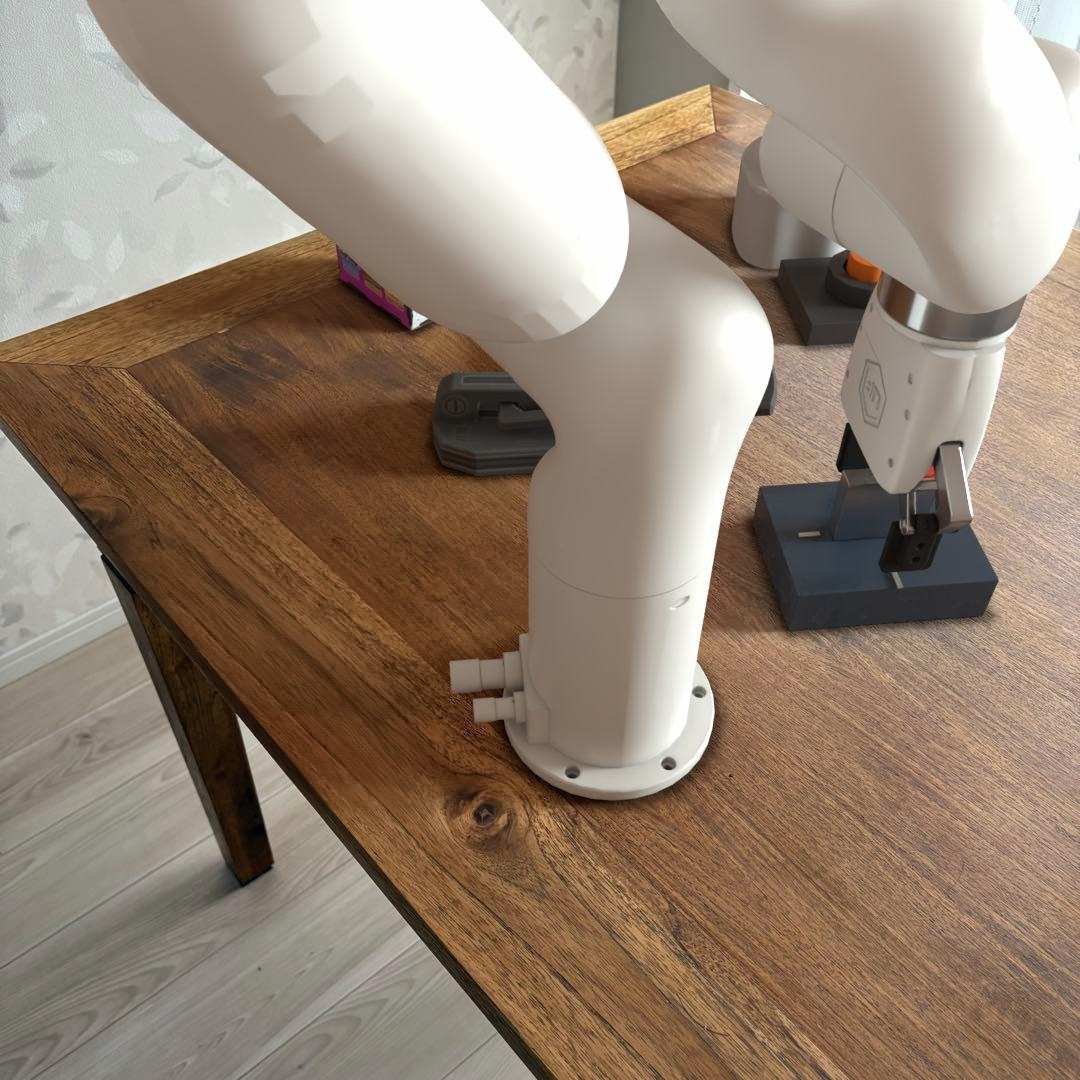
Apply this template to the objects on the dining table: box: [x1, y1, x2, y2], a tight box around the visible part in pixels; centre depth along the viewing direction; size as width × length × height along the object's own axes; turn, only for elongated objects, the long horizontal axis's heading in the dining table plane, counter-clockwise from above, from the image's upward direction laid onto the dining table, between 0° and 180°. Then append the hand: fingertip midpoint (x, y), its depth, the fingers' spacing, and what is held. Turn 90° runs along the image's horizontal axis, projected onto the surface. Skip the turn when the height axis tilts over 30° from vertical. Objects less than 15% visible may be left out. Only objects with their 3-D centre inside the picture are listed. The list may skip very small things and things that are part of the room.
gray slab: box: [828, 466, 935, 541], centre depth 71 cm, size 6×1×5 cm, turn 96°
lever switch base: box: [751, 480, 1000, 632], centre depth 74 cm, size 13×10×4 cm
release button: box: [846, 251, 881, 283], centre depth 94 cm, size 4×4×2 cm
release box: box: [776, 249, 878, 347], centre depth 95 cm, size 12×10×4 cm
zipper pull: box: [431, 365, 778, 477], centre depth 82 cm, size 9×7×25 cm
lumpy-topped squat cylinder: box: [731, 135, 846, 270], centre depth 102 cm, size 10×13×9 cm
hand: (880, 515), depth 72 cm, fingers open, 8 cm apart
